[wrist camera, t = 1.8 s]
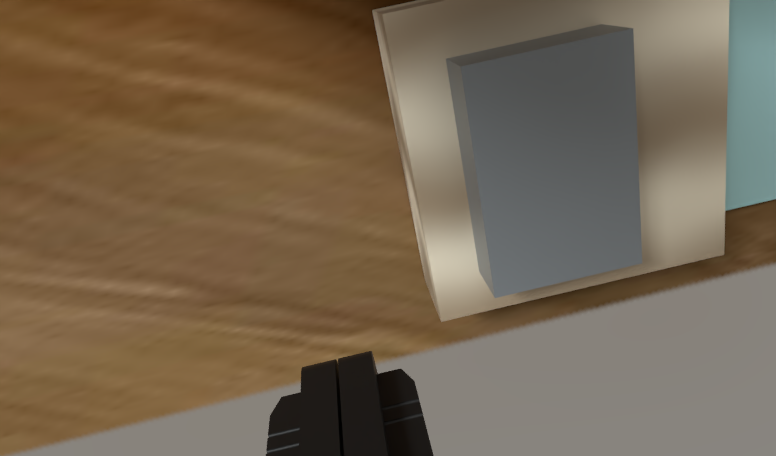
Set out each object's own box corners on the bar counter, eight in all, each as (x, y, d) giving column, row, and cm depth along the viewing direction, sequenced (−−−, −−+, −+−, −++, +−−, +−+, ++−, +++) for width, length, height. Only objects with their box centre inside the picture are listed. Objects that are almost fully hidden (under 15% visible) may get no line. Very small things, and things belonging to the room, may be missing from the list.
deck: (372, 10, 25) (382, 14, 22) (670, -56, 26) (730, -62, 22) (425, 281, 30) (441, 321, 27) (674, 222, 31) (724, 254, 27)
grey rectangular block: (445, 58, 22) (460, 66, 20) (601, 24, 23) (633, 28, 20) (479, 271, 26) (495, 298, 24) (614, 239, 26) (642, 263, 24)
